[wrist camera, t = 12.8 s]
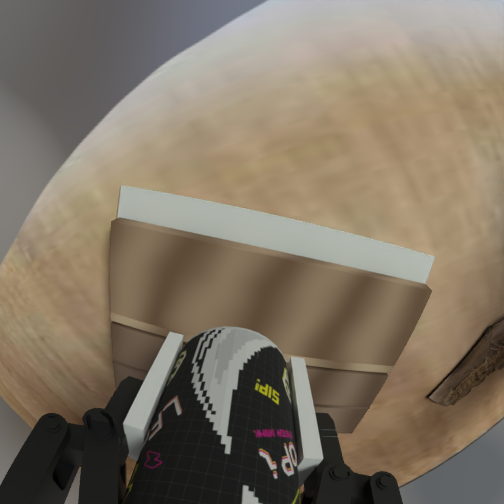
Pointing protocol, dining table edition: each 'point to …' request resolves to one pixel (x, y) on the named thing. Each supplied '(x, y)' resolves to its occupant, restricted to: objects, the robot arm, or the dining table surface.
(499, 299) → the dining table surface
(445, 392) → the wooden fragment
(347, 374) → the laid board
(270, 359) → the beverage can
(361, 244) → the underlay mat
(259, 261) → the plank
